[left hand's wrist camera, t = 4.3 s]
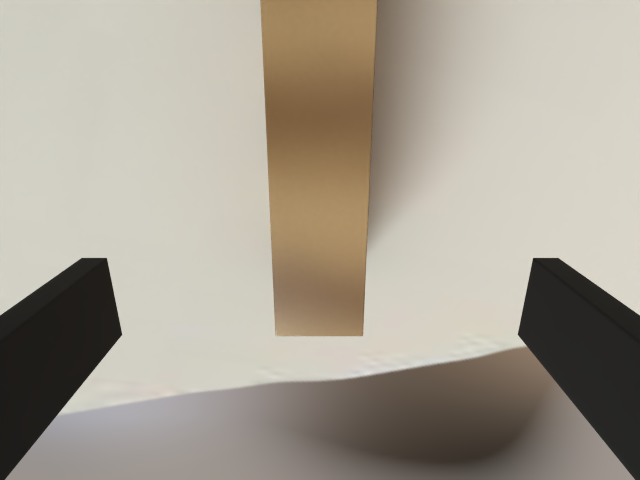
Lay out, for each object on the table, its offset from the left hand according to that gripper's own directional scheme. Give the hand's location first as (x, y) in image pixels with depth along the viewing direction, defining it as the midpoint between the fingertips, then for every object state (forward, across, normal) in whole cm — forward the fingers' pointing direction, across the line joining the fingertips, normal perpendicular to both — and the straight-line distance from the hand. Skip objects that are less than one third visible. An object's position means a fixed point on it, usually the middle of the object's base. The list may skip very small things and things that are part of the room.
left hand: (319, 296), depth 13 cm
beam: (+16, 0, -22) cm, 27 cm away
